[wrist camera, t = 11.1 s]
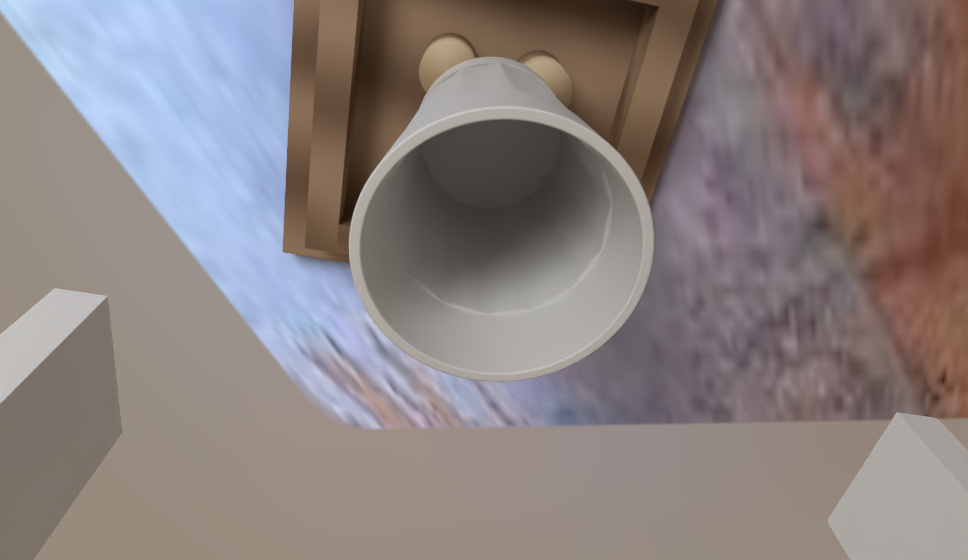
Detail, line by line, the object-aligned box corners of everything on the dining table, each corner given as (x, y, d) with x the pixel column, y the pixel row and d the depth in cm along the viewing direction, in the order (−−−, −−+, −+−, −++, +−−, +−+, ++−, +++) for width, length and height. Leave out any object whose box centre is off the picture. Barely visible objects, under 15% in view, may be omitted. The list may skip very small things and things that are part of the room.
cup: (557, 233, 29) (606, 399, 19) (386, 203, 29) (336, 361, 18) (605, 56, 26) (699, 140, 15) (409, 16, 25) (364, 76, 14)
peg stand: (307, -156, 25) (281, -171, 22) (729, -61, 27) (768, -60, 24) (287, 243, 34) (266, 279, 30) (612, 295, 36) (627, 335, 32)
